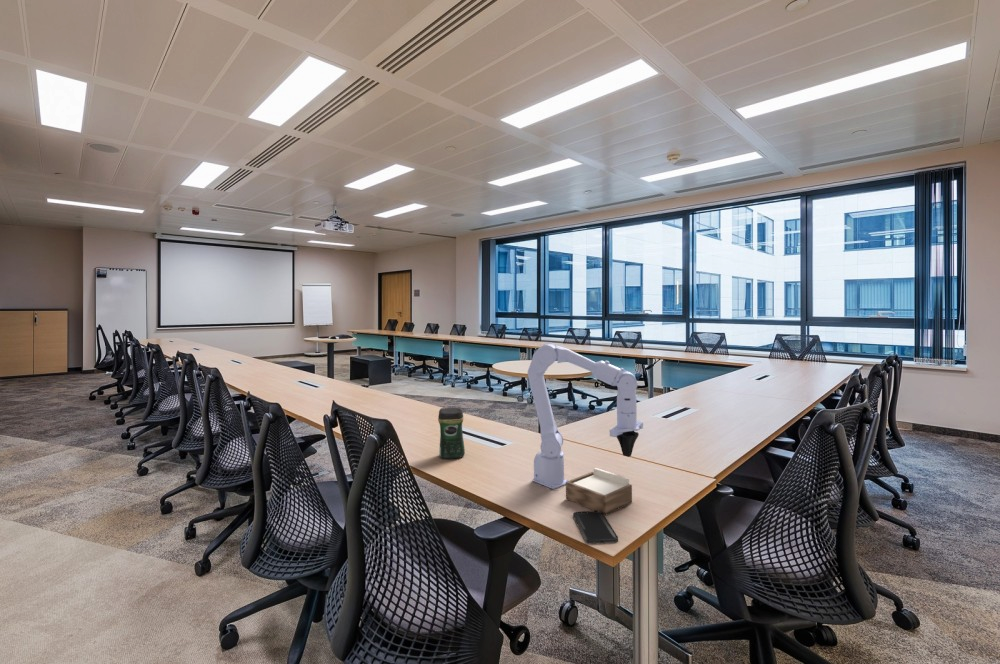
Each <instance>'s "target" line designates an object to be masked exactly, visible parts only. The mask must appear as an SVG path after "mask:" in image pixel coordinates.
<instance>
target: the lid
mask: <svg viewBox="0 0 1000 664" xmlns="http://www.w3.org/2000/svg"><path fill="white" fill-rule="evenodd" d="M593 472H594V475H592V476H590V477H587V478H584V479H582V480H579V481H577V482H574V484H576V485H579V486H582V487H585V488H587V489H590V490H593V491H595V492H598V493H601V494H603V495H606V494H608V493H611V492H613V491H615V490H617V489H620V488H622V487H624V486H626V485H628V484H630V478H628V477H626V476H624V475H621V474H617V473H613V472H611V471H608V470H607V471H606V470H604V469H601V468H598V467H594V468H593Z"/></svg>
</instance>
